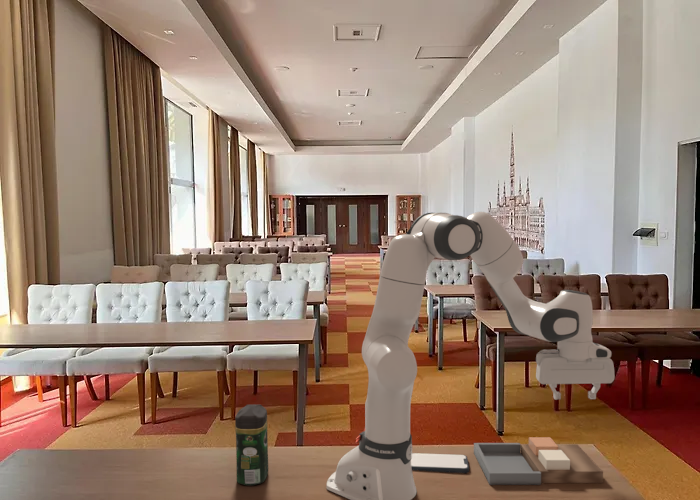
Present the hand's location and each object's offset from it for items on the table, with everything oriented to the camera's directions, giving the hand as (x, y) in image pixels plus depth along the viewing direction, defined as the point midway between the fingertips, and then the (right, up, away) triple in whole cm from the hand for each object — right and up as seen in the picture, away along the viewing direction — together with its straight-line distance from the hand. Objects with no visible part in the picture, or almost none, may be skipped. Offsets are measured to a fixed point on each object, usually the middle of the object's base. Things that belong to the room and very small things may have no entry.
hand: (574, 398), depth 149 cm
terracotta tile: (-8, -15, +1) cm, 17 cm away
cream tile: (-8, -15, -7) cm, 19 cm away
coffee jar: (-87, -19, -7) cm, 89 cm away
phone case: (-37, -19, 0) cm, 42 cm away
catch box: (-19, -18, -2) cm, 26 cm away
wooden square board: (-5, -18, -3) cm, 19 cm away
